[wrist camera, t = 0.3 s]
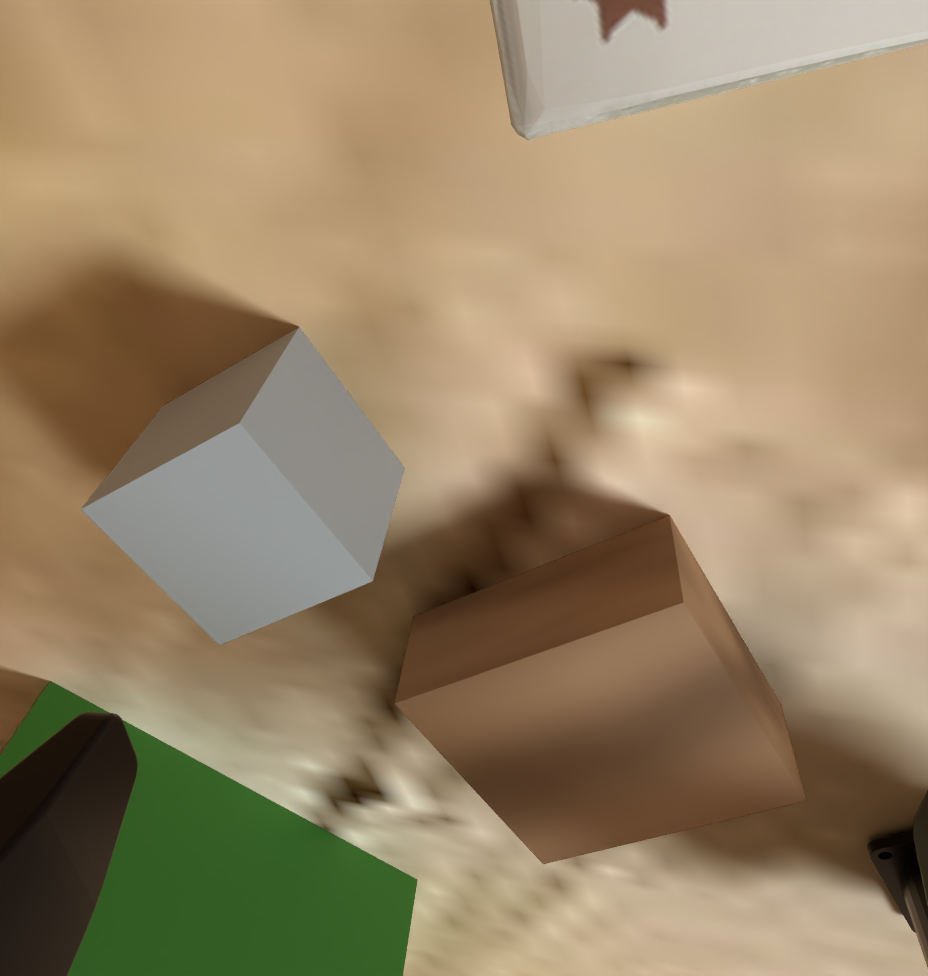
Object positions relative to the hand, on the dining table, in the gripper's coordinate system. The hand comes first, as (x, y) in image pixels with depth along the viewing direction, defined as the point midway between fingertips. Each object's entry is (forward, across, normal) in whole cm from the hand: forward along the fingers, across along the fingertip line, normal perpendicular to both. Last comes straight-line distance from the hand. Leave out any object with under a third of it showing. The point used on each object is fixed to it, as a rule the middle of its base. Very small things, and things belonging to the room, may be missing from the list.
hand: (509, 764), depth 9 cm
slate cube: (+14, +7, +4) cm, 16 cm away
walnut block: (+14, -2, +13) cm, 19 cm away
